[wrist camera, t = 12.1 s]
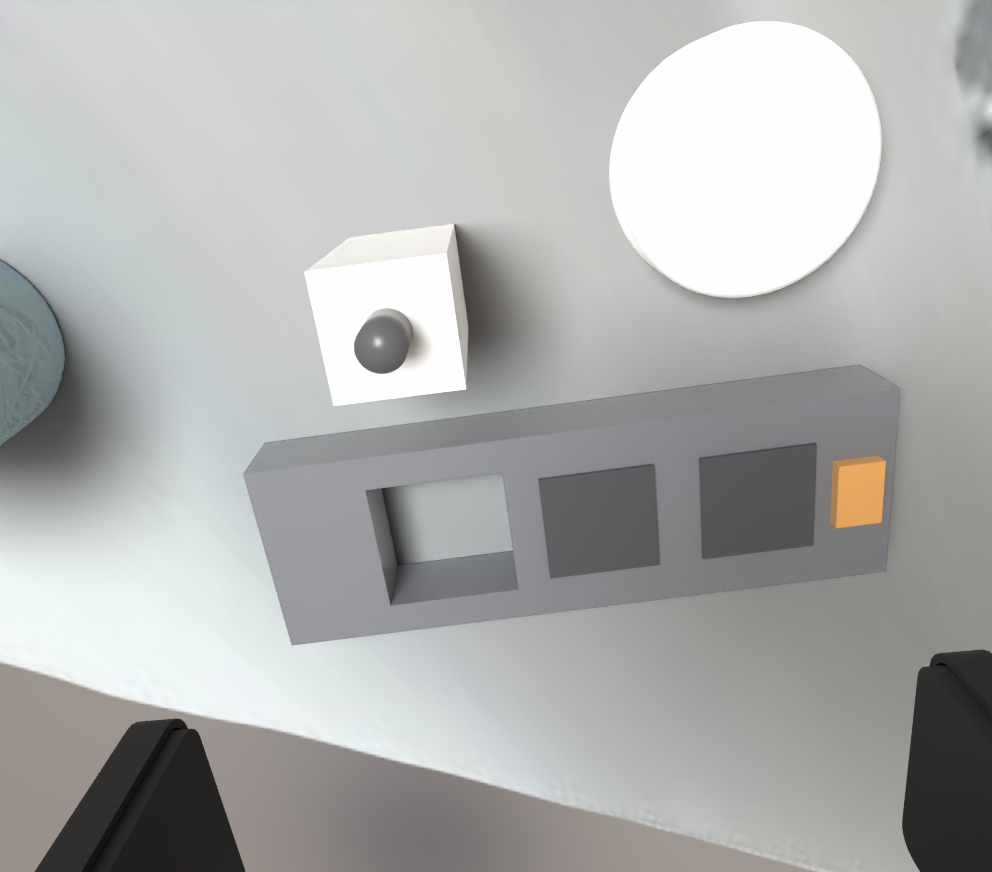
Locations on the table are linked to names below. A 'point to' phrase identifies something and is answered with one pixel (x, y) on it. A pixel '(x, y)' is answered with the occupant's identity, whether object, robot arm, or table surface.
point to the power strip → (589, 503)
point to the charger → (391, 315)
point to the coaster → (746, 159)
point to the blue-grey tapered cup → (26, 353)
